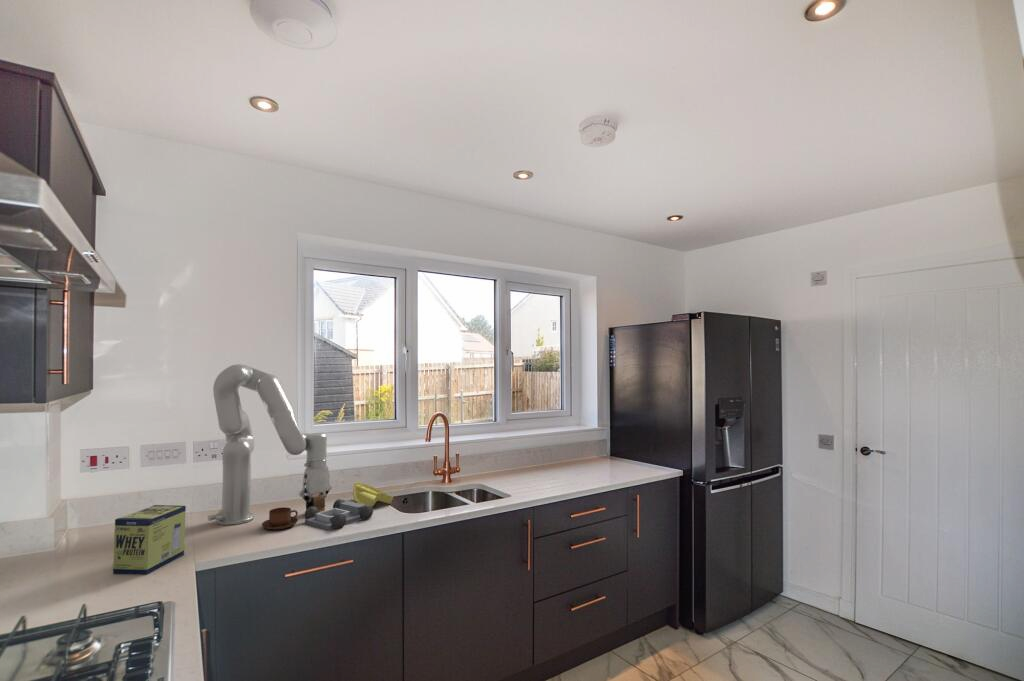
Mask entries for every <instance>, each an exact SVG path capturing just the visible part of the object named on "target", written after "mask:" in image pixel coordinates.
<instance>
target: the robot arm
mask: <svg viewBox="0 0 1024 681" xmlns="http://www.w3.org/2000/svg"><path fill="white" fill-rule="evenodd" d="M240 387H243V388H246V389H248V390H251V391H254V392H257V394H258V396H259V397H260V400H261V401H262V403H263V405H264V407H265V409H266V412H267V413H268V416H269V418H270V420H271V422H272V424H273V426H274V427H275V431H276V432H277V435H278V437H279V439H280V441H281V443H282V445H283V447H284V449H285V450H286V453H288V454H289V455H292V456H299V455H301V454H302V453H304V451H306V463H303V464H304V466H303V467H305V469H304V471H303V472H304V473H303V477H302V478H303V479H302V489H301V490H300V492H299V493H298V496H299V497H301V499H303V500H304V501H305V511H306V510H307V508H309V507H312V503H313V502H312V501H311V500H312V496H313V494H317V493H319V494H323V495H325V499H326V498H327V495H328V494H329V492H330V491H331V490H332V488H333V487H332V485H331V479H330V470H329V469H330V468H329V466H327V444H328V443H327V442H328V441H327V440H328V439H327V437H328V436H327V435H326V434H325V433H323V432H322V433H320V432H319V433H318V432H317V433H302V432H301V430H300V428H299V427H298V425H297V422H296V419H295V416H294V410H293V407H292V405H291V404H290V401H289V399H288V398H287V396H286V393H285V391H284V390H283V387H282V386H281V381H280V378H279V377H278V376H276V375H274V374H272V373H271V374H270V373H267V372H265V371H262V370H259V369H256V368H254V367H252V366H248V365H246V364H239V363H238V364H232V365H230V366H227V367H226V368H225V369H223V370H222V371H221V372H220V373H219V374H218V375H216V378H215V380H214V383H213V387H212V388H213V390H212V391H213V393H212V394H213V398H214V404H215V410H216V415H217V421H218V428H219V429H220V431H221V432H222V433H223V434H224V435H225V440H226V443H225V445H224V446H223V449H222V454H221V455H222V456H221V457H222V492H221V493H222V494H221V496H222V497H221V498H222V499H221V509H219V510H218V512H217V513H216V514H210V515H208V516H207V520H208V521H209V522H211V521H214V520H215V521H216V524H218V525H224V526H230V525H231V526H232V525H240V524H244V523H247V522H250V521H252V520H254V518H255V514H254V513H252V512H250V511H251V482H252V481H251V480H252V479H251V478H252V477H251V476H252V466H251V462H252V459H251V458H252V453H253V451H254V448H255V442H254V437H253V431H252V427H251V422H250V418H249V415H248V414H247V412H245V410H243V409H242V408H243V407H242V403H241V398H240V395H239V388H240Z"/></svg>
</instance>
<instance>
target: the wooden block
mask: <svg viewBox="0 0 1024 681" xmlns="http://www.w3.org/2000/svg"><path fill="white" fill-rule="evenodd" d="M311 501H312V502H313V503H312V507H316V508H318V510H319V512H322V511H326V510H325V509H326V508H325V505H326V498H325V495H323V494H319V493H317V494H313V496H312V500H311Z"/></svg>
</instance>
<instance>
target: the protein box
mask: <svg viewBox="0 0 1024 681" xmlns="http://www.w3.org/2000/svg"><path fill="white" fill-rule="evenodd" d="M186 509H187V508H186V505H169V504H168V505H167V504H165V505H164V504H163V505H161V504H154V505H152V506H149V507H145V508H143V509H140V510H137V511H134V512H133V513H129V514H128V515H127V514H126V515H123V516H122V517H117V518H116V519H114V539H113V540H114V543H113V565H112V566H113V567H112V568H113V569H112V574H113V575H116V574H117V575H145V576H147V575H149V574H150V573H152V572H154V571H157V570H158V569H160V568H162V567H164V566H165V565H168V564H170V563H172V562H174V561H176V560H177V559H179V558H181V557H183V556H185V540H186V539H185V533H186Z"/></svg>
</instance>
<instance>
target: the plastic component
mask: <svg viewBox="0 0 1024 681" xmlns="http://www.w3.org/2000/svg"><path fill="white" fill-rule="evenodd" d="M353 485H354V486H353V490H352V492H353V493H352V496H353V498H354V501H355V503H359V504H364V505H370V506H372V508H373V506H375V505H376V502H381V503H384V504H388V505H390V504H392V501H393V500H394V496H393V495H390V494H388V493H386V492H384V491H382V490H379V489H378V488H376V487H373V486H370V485H368V484H365V483H364V482H363V483H362V482H360V481H355V482H354V484H353Z"/></svg>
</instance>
